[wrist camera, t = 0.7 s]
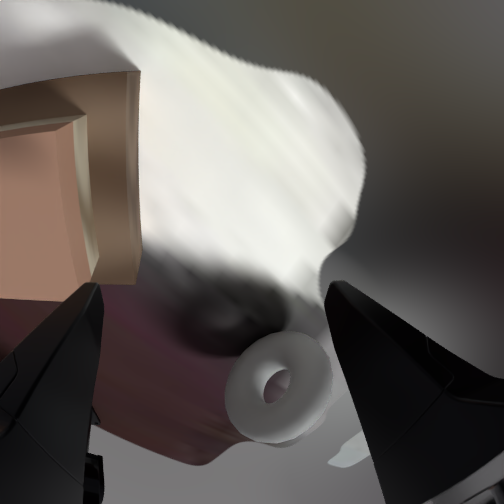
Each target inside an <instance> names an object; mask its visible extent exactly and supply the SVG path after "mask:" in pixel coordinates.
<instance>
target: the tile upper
mask: <svg viewBox="0 0 504 504" xmlns="http://www.w3.org/2000/svg"><path fill="white" fill-rule="evenodd" d="M90 280H91V273H90V268H89V263H88V257H87V252H86V246H85V240H84V234H83V228H82V221H81V214H80V206H79V198H78V189H77V179H76V167H75V154H74V135H73V122H63V123H54V124H46V125H38V126H31V127H24V128H18V129H12V130H6V131H0V298H7V299H23V300H43V301H65V300H66V299H67V298H68V297H69V296H70V295H71V294H72V293H73V292H75V291H76V290H77V289H78V288H79V287H80V286H81V285H83V284H84V283H85V282H90Z"/></svg>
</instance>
